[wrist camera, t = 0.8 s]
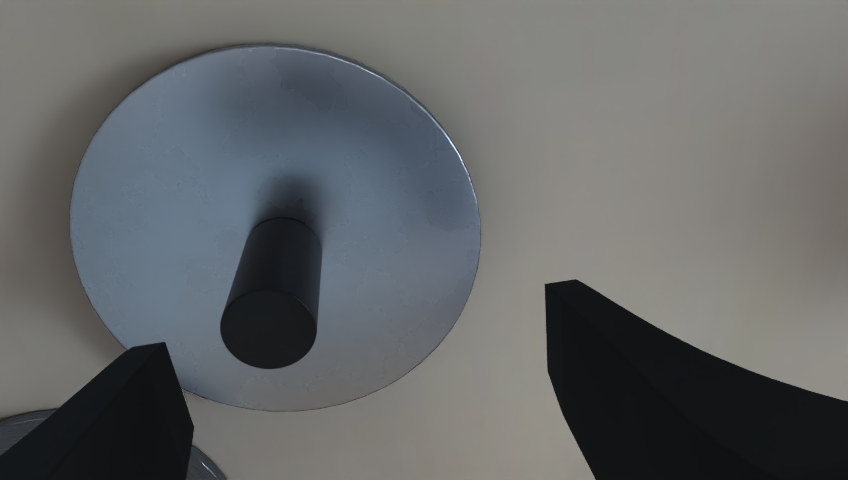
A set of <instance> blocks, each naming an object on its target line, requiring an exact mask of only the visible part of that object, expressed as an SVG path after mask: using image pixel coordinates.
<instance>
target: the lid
mask: <svg viewBox="0 0 848 480" xmlns="http://www.w3.org/2000/svg"><path fill="white" fill-rule="evenodd" d="M70 240H71V246H72V252H73V259H74V262H75V265H76V269H77V272H78V275H79V278H80V281H81V284H82V286H83V288H84V290H85V292H86V294H87V297H88V299H89V301H90V303H91V305H92V307H93V308H94V310H95V311H96V313H97V314H98V316H99V317H100V319H101V320H102V322H103V323H104V325H105V326H106V328H107V329H108V330H109V331H110V332H111V333H112V335H113V336H114V337H115V338H116V339H117V340H118V342H119V343H120V344H121V345H122V346H123V347H124V348H125V349H126V350H128V349H130V348H131V347H134V346H141V345H147V344H154V343H160V342H165V343H166V346H167V349H168V351H169V354H170V357H171V360H172V363H173V366H174V369H175V372H176V375H177V378H178V381H179V384H180V387H181V388H182V389H185V390H187V391H189V392H192V393H194V394H196V395H199V396H201V397H203V398H207V399H210V400H213V401H216V402H219V403H223V404H226V405H231V406H236V407H241V408H246V409H253V410H263V411H304V410H313V409H321V408H326V407H330V406H335V405H339V404H344V403H347V402H350V401H353V400H356V399H359V398H362V397H365V396H367V395H369V394H371V393H373V392H376V391H378V390H380V389H382V388H384V387H386V386H388V385H389V384H391V383H393V382H394V381H396V380H398V379H399V378H401V377H403V376H404V375H406V374H407V373H408V372H410V371H411V370H412V369H414V368H415V367H416V366H417V365H419V364H420V363H421V362H422V361H423V360H425V359H426V358H427V357H428V356H429V355H430V354H431V353H432V352H433V351H434V350H435V349H436V348H437V347H438V346H439V344H440V343H441V342H442V340H443V339H444V338H445V337H446V335H447V334H448V333H449V332H450V330H451V329H452V327H453V326H454V324H455V322H456V321H457V319H458V317H459V316H460V314H461V312H462V311H463V309H464V306H465V304H466V302H467V299H468V297H469V295H470V292H471V290H472V287H473V283H474V280H475V276H476V272H477V269H478V263H479V255H480V247H481V226H480V216H479V210H478V203H477V198H476V194H475V191H474V188H473V185H472V181H471V178H470V175H469V173H468V171H467V169H466V166H465V164H464V162H463V160H462V158H461V156H460V154H459V152H458V150H457V148H456V146H455V145H454V143H453V142H452V140H451V139H450V137H449V136H448V134H447V133H446V131H445V130H444V128H443V127H442V126H441V124H440V123H439V122H438V121H437V120H436V119H435V118H434V116H433V115H432V114H431V113H430V112H429V111H428V109H427V108H426V107H425V106H424V105H422V104H421V103H420V102H419V101H418V100H417V99H416V98H415V97H413V96H412V95H411V94H410V93H409V92H408V91H407V90H405V89H404V88H403V87H401V86H400V85H398V84H397V83H395V82H394V81H392V80H391V79H389V78H388V77H386V76H385V75H383V74H382V73H380V72H378V71H376V70H374V69H372V68H370V67H368V66H366V65H363V64H361V63H359V62H357V61H355V60H352V59H349V58H347V57H344V56H341V55H338V54H335V53H332V52H329V51H325V50H320V49H315V48H310V47H305V46H300V45H288V44H273V43H263V44H248V45H236V46H232V47H227V48H222V49H217V50H212V51H208V52H205V53H202V54H199V55H197V56H194V57H191V58H188V59H185V60H183V61H180V62H178V63H176V64H175V65H173V66H171V67H169V68H167V69H165V70H163V71H161V72H159V73H157V74H156V75H154V76H153V77H152V78H150V79H149V80H147V81H146V82H145V83H143V84H142V85H141V86H139V87H138V88H136V89H135V90H134V91H132V92H131V93H130V94H129V95H128V96H127V97H126V98H125V99H124V100H123V101H122V102H121V103H120V104H119V105H118V106H117V107H116V108H115V109H114V110H112V111H111V112H110V113H109V115H108V116H107V118H106V119H105V120H104V122H103V123H102V124H101V126H100V127H99V129H98V130H97V131H96V133H95V134H94V135H93V137H92V139H91V141H90V143H89V145H88V147H87V149H86V151H85V153H84V155H83V157H82V159H81V162H80V165H79V168H78V171H77V174H76V177H75V180H74V183H73V190H72V196H71V203H70Z"/></svg>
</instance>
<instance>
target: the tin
mask: <svg viewBox="0 0 848 480" xmlns="http://www.w3.org/2000/svg"><path fill="white" fill-rule="evenodd" d="M55 411H56V410H47V411H38V412H33V413H28V414H23V415H19V416H14V417H11V418H8V419H5V420H3V421H0V455H2V454H3V453H4V452H6V451H7V450H8V449H9V448H11V447H12V446H13V445H14V444H16V443H17V442H18V441H19V440H21V439H22V438H23V437H24V436H26V435H27V434H28V433H29V432H31V431H32V430H33V429H34V428H36V427H37V426H38V425H39V424H41V423H42V422H43V421H44V420H45V419H47V418H48V417H49V416H50V415H52V414H53V413H54V412H55ZM186 480H227V479H226V478H225V476H224V475H223V473H222V472H221V471H220V470H219V469H218V468H217V466H216V465H215V464H214V463H213V462H212V461H211V460H210V459H209V458H208V457H207V456H205V455H204V454H203V453H202V452H201V451H200V450H199V449H197V448H196V447H194V446H193V445H192V446H191V453H190V459H189V465H188V471H187V477H186Z"/></svg>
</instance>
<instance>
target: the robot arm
mask: <svg viewBox="0 0 848 480" xmlns="http://www.w3.org/2000/svg"><path fill="white" fill-rule="evenodd" d="M545 303H546V334H547V365H548V373H549V376H550V379H551V382H552V385H553V388H554V391H555V394H556V397H557V400H558V402H559V405H560V408H561V410H562V413H563V416H564V418H565V420H566V422H567V424H568V426H569V428H570V430H571V432H572V434H573V436H574V438H575V440H576V442H577V444H578V446H579V448H580V450H581V452H582V453H583V455H584V457H585V459H586V461H587V463H588V465H589V467H590V469H591V471H592V473H593V475H594V477H595V479H596V480H848V401H844V400H840V399H836V398H832V397H829V396H825V395H822V394H818V393H815V392H811V391H808V390H805V389H802V388H799V387H796V386H793V385H789V384H786V383H783V382H780V381H777V380H774V379H771V378H768V377H766V376H763V375H760V374H757V373H755V372H752V371H749V370H747V369H744V368H742V367H739V366H737V365H735V364H732V363H730V362H727V361H725V360H722V359H720V358H718V357H715V356H713V355H711V354H709V353H706V352H704V351H702V350H700V349H698V348H696V347H694V346H692V345H690V344H688V343H686V342H684V341H682V340H680V339H678V338H676V337H674V336H672V335H670V334H668V333H666V332H664V331H663V330H661V329H659V328H657V327H655V326H654V325H652V324H650V323H648V322H647V321H645V320H643V319H641V318H640V317H638V316H636V315H635V314H633V313H631V312H629V311H628V310H626V309H625V308H623V307H621V306H620V305H618V304H616V303H615V302H613V301H611V300H610V299H608V298H607V297H605V296H603V295H602V294H600V293H599V292H597V291H595V290H594V289H592V288H590V287H589V286H587V285H585V284H584V283H582V282H580V281H578V280H576V279H575V280H568V281H562V282H555V283H549V284H545ZM193 432H194V425H193V422H192V420H191V417H190V414H189V411H188V408H187V405H186V402H185V399H184V396H183V393H182V390H181V387H180V384H179V381H178V378H177V375H176V372H175V369H174V366H173V363H172V360H171V357H170V354H169V351H168V349H167V346H166V343H165V342H160V343H154V344H147V345H141V346H134V347H131V348H130V349H128V350H127V351H126V352H124V353H123V354H122V355H120V356H119V357H118V358H117V359H115V360H114V361H113V362H112V363H111V364H109V365H108V366H107V367H106V368H105V369H104V370H102V371H101V372H100V373H99V374H98V375H97V376H96V377H94V378H93V379H92V380H91V381H90V382H89V383H88V384H86V385H85V386H84V387H83V388H82V389H81V390H79V391H78V392H77V393H76V394H75V395H74V396H72V397H71V398H70V399H69V400H68V401H67V402H66V403H64V404H63V405H62V406H61V407H60V408H59V409H57V410H56V411H55V412H54V413H53V414H52V415H50V416H49V417H48V418H47V419H45V420H44V421H43V422H42V423H41V424H39V425H38V426H37V427H36V428H34V429H33V430H32V431H31V432H29V433H28V434H27V435H26V436H24V437H23V438H22V439H21V440H19V441H18V442H17V443H16V444H14V445H13V446H12V447H11V448H9V449H8V450H7V451H6V452H4V453H3V454H2V455H0V480H186V477H187V471H188V465H189V459H190V453H191V446H192V439H193Z"/></svg>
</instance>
